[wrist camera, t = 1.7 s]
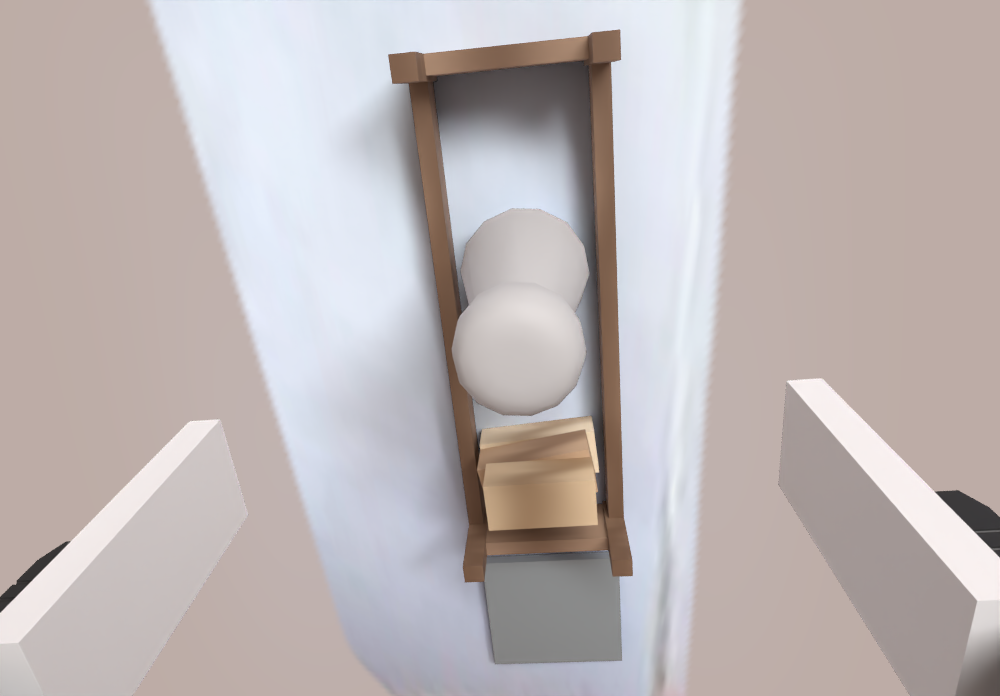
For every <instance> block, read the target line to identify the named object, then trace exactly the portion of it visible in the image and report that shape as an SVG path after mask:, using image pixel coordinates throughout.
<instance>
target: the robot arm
mask: <svg viewBox="0 0 1000 696" xmlns="http://www.w3.org/2000/svg"><path fill="white" fill-rule="evenodd" d="M778 485H779V486H780V488H781V490H782V491H783V493H784V495H785V496H786V498H787V499H788V501H789V503H790V504H791V506H792V507H793V509H794V511H795V512H796V514H797V515H798V517H799V519H800V520H801V522H802V523H803V525H804V527H805V528H806V530H807V531H808V533H809V535H810V536H811V538H812V539H813V541H814V543H815V544H816V546H817V547H818V549H819V551H820V552H821V554H822V555H823V557H824V559H825V560H826V562H827V563H828V565H829V567H830V568H831V570H832V571H833V573H834V575H835V576H836V578H837V580H838V581H839V583H840V584H841V586H842V587H843V589H844V591H845V592H846V594H847V595H848V597H849V599H850V600H851V602H852V604H853V605H854V607H855V608H856V610H857V612H858V613H859V615H860V616H861V618H862V619H863V621H864V623H865V624H866V626H867V628H868V629H869V631H870V632H871V634H872V636H873V637H874V639H875V640H876V642H877V644H878V645H879V647H880V648H881V650H882V652H883V653H884V655H885V656H886V658H887V660H888V661H889V663H890V664H891V666H892V668H893V669H894V671H895V673H896V674H897V676H898V677H899V679H900V681H901V682H902V684H903V685H904V687H905V688H906V690H907V692H908V693H909V695H910V696H1000V517H999V516H998V515H997V514H996V513H995V512H993V510H991V509H990V508H989V507H988V506H985V505H984V504H982V503H980V502H978V501H976V500H975V499H973V498H971V497H969V496H967V495H965V494H964V493H962V492H960V491H958V490H956V491H938V492H934V491H933V490H932V489H931V488H930V487H929V486H928V485H927V484H926V483H925V482H924V481H923V480H922V479H921V478H920V477H919V476H918V475H917V474H916V473H915V472H914V471H913V470H912V469H911V468H910V467H909V466H908V465H907V464H906V463H905V462H904V461H903V460H902V459H901V458H900V457H899V456H898V455H897V454H896V453H895V452H894V451H893V450H892V449H891V448H890V447H889V446H888V445H887V444H886V443H885V441H884V440H883V439H882V438H880V436H879V435H878V434H876V432H875V431H873V430H872V428H871V427H870V426H869V425H868V424H867V423H866V422H865V421H864V420H863V419H862V418H861V417H860V416H859V415H858V414H857V413H856V412H855V411H854V410H853V409H852V408H851V407H850V406H849V405H848V404H847V403H846V402H845V401H844V400H843V399H842V398H841V397H840V396H839V395H838V394H837V393H836V392H835V391H834V390H833V389H832V388H831V387H830V386H829V385H828V384H827V383H826V382H825V381H824V380H823V379H822V378H820V379H806V380H791V381H787V382H786V396H785V407H784V420H783V432H782V446H781V458H780V470H779V484H778ZM247 516H248V513H247V509H246V505H245V502H244V499H243V495H242V492H241V488H240V485H239V482H238V478H237V475H236V472H235V468H234V465H233V461H232V458H231V455H230V451H229V447H228V444H227V440H226V437H225V434H224V430H223V427H222V423H221V420H220V419H218V420H204V421H191V422H188V424H186V425H185V427H183V428H182V430H181V431H179V432H178V434H177V435H176V436H175V437H174V438H173V439H172V440H171V441H170V442H169V443H168V444H167V445H166V446H165V447H164V448H163V449H162V450H161V451H160V452H159V453H158V454H157V455H156V456H155V457H154V458H153V459H152V460H151V461H150V462H149V463H148V464H147V465H146V466H145V467H144V468H143V469H142V470H141V471H140V472H139V473H138V474H137V475H136V476H135V477H134V478H133V479H132V480H131V481H130V482H129V483H128V484H127V485H126V486H125V487H124V488H123V489H122V490H121V491H120V492H119V493H118V494H117V495H116V496H115V497H114V498H113V499H112V500H111V501H110V502H109V503H108V504H107V505H106V507H104V509H102V510H101V512H100V513H98V515H97V516H96V517H95V518H94V519H93V520H92V521H91V522H90V523H89V524H88V525H87V526H86V527H85V528H84V529H83V530H82V531H81V532H80V533H79V534H78V535H77V536H76V537H75V538H74V539H73V540H72V541H69V542H65V543H63V544H62V545H60V546H59V547H57V548H55V549H54V550H52V551H51V552H49V553H48V554H46V555H45V556H43V557H42V558H40V559H39V560H37V561H36V562H35V563H34V564H33V565H32V566H31V567H30V568H29V569H28V570H27V571H26V572H25V573H24V574H23V575H22V576H21V577H20V578H19V579H18V580H17V584H16V585H12V586H11V587H10V588H9V589H8V590H7V591H6V592H5V593H4V594H3V595H2V596H1V597H0V696H133V694H134V693H135V691H136V690H137V688H138V686H139V685H140V683H141V682H142V680H143V679H144V677H145V675H146V674H147V672H148V671H149V669H150V668H151V666H152V665H153V663H154V661H155V660H156V658H157V657H158V655H159V654H160V652H161V651H162V649H163V647H164V646H165V644H166V643H167V641H168V640H169V638H170V637H171V635H172V633H173V632H174V630H175V628H176V627H177V625H178V624H179V622H180V621H181V619H182V618H183V616H184V615H185V613H186V612H187V610H188V608H189V607H190V605H191V604H192V602H193V601H194V599H195V597H196V596H197V594H198V593H199V591H200V589H201V588H202V586H203V585H204V583H205V581H206V580H207V579H208V577H209V576H210V574H211V572H212V571H213V569H214V568H215V566H216V565H217V563H218V561H219V560H220V558H221V557H222V555H223V554H224V552H225V551H226V549H227V547H228V546H229V544H230V543H231V541H232V540H233V538H234V536H235V535H236V533H237V532H238V530H239V529H240V527H241V526H242V524H243V522H244V521H245V519H246V518H247Z"/></svg>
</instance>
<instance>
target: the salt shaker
mask: <svg viewBox="0 0 1000 696" xmlns="http://www.w3.org/2000/svg"><path fill="white" fill-rule="evenodd" d="M589 274H590V273H589V268H588V263H587V258H586V253H585V248H584V245H583V244H582V242H581V241H580V240H579V238H578V237H577V235H576V234H575V233H574V231H573V230H572V229H571V227H570V226H569V224H568V223H567V222H565V221H563V220H561V219H559V218H557V217H555V216H553V215H551V214H549V213H547V212H545V211H543V210H541V209H514V208H511V209H509V210H507V211H505V212H503V213H501V214H499V215H497V216H495V217H492V218H490V219H488V220H486V221H484V223H483V224H482V225H481V226H480V228H479V229H478V230H477V231H476V232H475V234H474V235H473V236H472V237H471V239H470V240H469V241H468V242H467V244H466V248H465V252H464V257H463V262H462V266H461V275H462V279H463V283H464V288H465V292H466V296H467V300H468V305H469V306H468V307H467V308H466V309H465V310H464V312H463V313H462V314H461V315H460V317H459V319H458V321H457V326H456V331H455V335H454V340H453V345H452V355H453V360H454V364H455V368H456V371H457V375H458V379H459V383H460V384H461V385H462V386H463V387H464V389H465V390H466V391H467V392H468V393H469V394H470V395H471V396H472V397H473V399H474V400H475V401H476V402H477V403H478V404H480V405H482V406H485V407H487V408H489V409H491V410H493V411H495V412H497V413H500V414H502V415H520V416H532V415H535V414H537V413H540V412H542V411H545V410H548V409H550V408H553V407H556V406H558V405H559V404H560V403H561V402H562V400H563V399H564V398H565V397H566V396H567V395H568V394H569V393H570V392H571V391H572V390H573V389H574V388H575V387H576V385H577V382H578V379H579V376H580V373H581V370H582V367H583V364H584V360H585V357H586V353H587V351H586V346H585V341H584V336H583V331H582V326H581V323H580V320H579V318H578V316H577V315H576V314H575V312H576V310H577V308H578V305H579V303H580V301H581V299H582V296H583V293H584V289H585V286H586V283H587V280H588V277H589Z"/></svg>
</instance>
